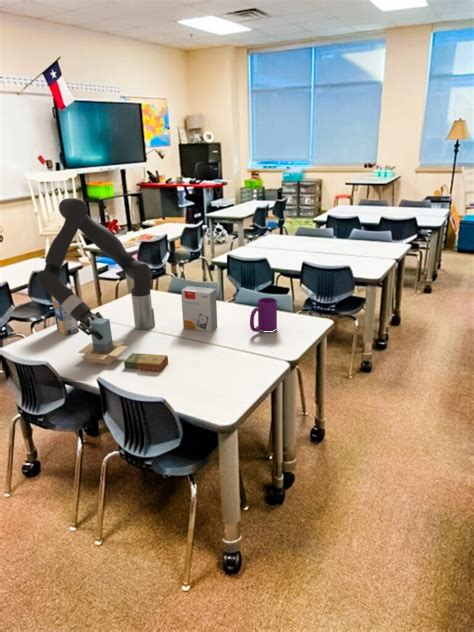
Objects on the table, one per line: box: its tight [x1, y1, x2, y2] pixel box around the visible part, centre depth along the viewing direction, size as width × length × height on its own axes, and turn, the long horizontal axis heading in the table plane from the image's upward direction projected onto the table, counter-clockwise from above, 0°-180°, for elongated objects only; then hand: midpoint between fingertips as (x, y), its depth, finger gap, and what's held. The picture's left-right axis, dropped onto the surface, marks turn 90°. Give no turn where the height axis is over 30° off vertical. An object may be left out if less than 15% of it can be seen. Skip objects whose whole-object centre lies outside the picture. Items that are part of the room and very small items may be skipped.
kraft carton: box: [78, 340, 129, 365], centre depth 201 cm, size 18×18×5 cm
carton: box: [123, 352, 169, 373], centre depth 194 cm, size 8×16×4 cm, turn 77°
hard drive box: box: [180, 285, 218, 333], centre depth 229 cm, size 16×8×20 cm, turn 68°
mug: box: [249, 297, 278, 333], centre depth 223 cm, size 9×16×15 cm, turn 131°
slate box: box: [90, 317, 114, 353], centre depth 198 cm, size 6×6×13 cm
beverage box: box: [50, 284, 80, 336], centre depth 230 cm, size 7×11×22 cm, turn 39°
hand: (105, 335), depth 197 cm, fingers closed on slate box, 5 cm apart
